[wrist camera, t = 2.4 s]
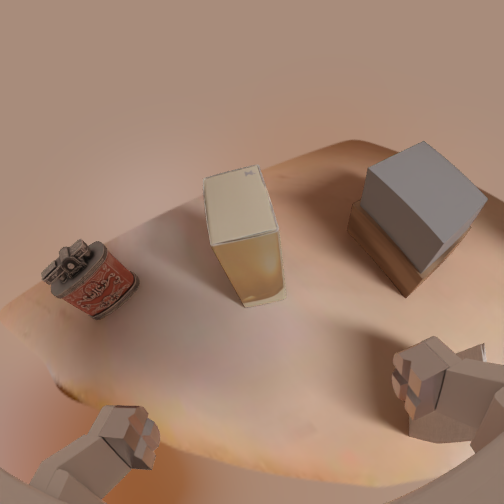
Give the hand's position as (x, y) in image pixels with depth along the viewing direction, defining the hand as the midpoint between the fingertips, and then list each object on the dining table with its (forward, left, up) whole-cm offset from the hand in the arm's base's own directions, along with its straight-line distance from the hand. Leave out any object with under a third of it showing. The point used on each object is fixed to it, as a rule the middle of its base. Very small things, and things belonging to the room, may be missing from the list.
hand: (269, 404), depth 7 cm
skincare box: (-4, -12, -17) cm, 21 cm away
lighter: (+12, -19, -17) cm, 28 cm away
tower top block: (-20, -6, -12) cm, 24 cm away
